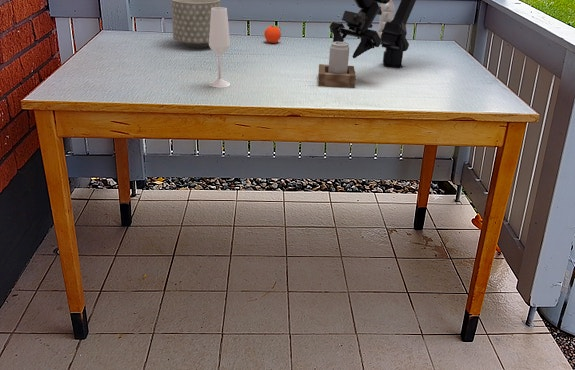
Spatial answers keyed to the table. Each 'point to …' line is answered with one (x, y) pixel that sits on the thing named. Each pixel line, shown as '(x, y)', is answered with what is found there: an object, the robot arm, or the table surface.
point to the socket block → (336, 77)
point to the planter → (192, 21)
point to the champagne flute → (219, 40)
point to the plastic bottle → (386, 15)
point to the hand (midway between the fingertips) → (342, 54)
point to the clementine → (272, 34)
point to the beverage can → (338, 57)
